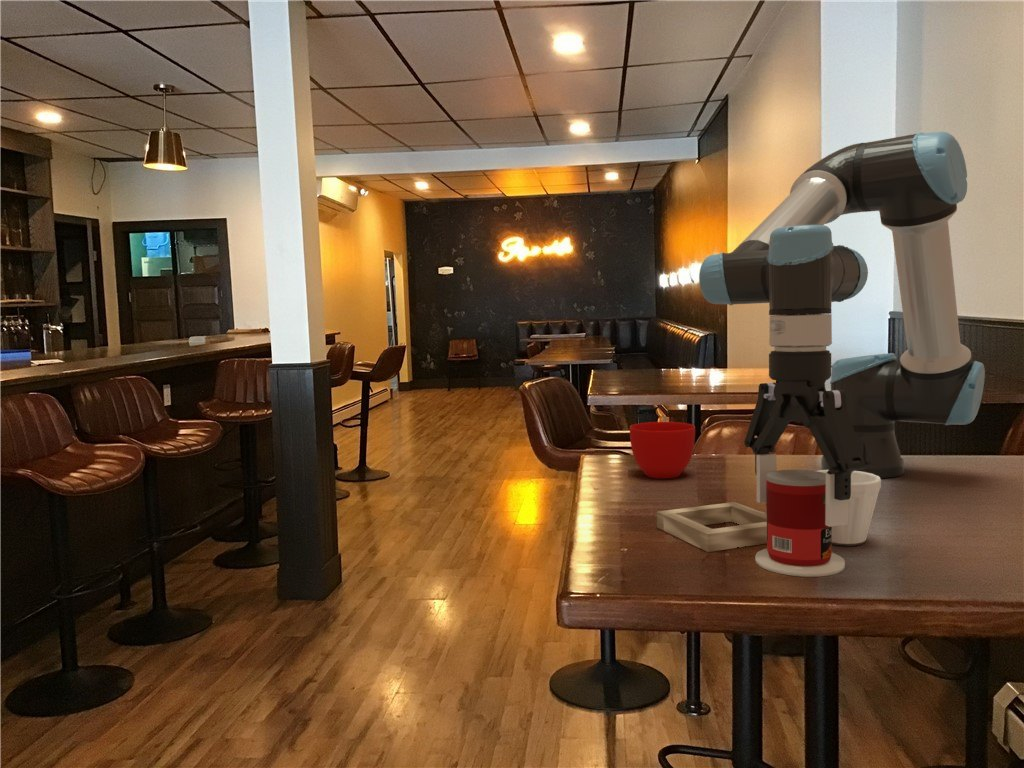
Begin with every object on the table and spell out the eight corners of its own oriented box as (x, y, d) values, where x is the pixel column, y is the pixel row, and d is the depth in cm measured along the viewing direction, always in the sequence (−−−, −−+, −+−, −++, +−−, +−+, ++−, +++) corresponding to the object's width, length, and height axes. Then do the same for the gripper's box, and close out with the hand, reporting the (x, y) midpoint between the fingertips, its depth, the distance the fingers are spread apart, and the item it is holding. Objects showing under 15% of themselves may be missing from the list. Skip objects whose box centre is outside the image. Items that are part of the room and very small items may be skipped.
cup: (874, 554, 108) (875, 486, 107) (797, 544, 113) (797, 479, 112) (885, 535, 116) (886, 472, 116) (812, 527, 122) (813, 467, 121)
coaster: (805, 546, 112) (805, 542, 112) (864, 569, 102) (864, 564, 102) (738, 556, 109) (738, 552, 109) (792, 581, 98) (792, 576, 98)
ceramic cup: (711, 468, 168) (710, 421, 167) (681, 484, 154) (681, 432, 153) (652, 463, 175) (652, 418, 174) (619, 478, 161) (618, 429, 160)
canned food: (837, 568, 101) (836, 481, 100) (770, 566, 102) (769, 480, 102) (826, 550, 108) (825, 469, 107) (764, 548, 110) (763, 469, 109)
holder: (734, 517, 129) (734, 501, 129) (792, 539, 116) (792, 522, 116) (656, 527, 124) (656, 511, 124) (707, 552, 111) (707, 534, 111)
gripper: (718, 347, 113) (719, 495, 115) (846, 354, 90) (845, 540, 92) (763, 344, 116) (763, 490, 118) (899, 351, 92) (897, 532, 94)
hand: (799, 512), depth 105 cm, fingers open, 13 cm apart
